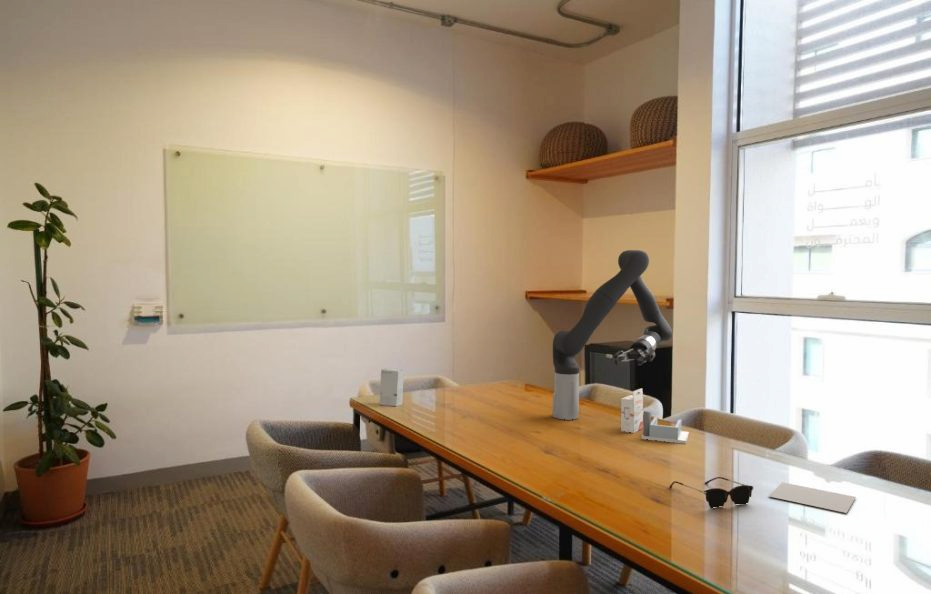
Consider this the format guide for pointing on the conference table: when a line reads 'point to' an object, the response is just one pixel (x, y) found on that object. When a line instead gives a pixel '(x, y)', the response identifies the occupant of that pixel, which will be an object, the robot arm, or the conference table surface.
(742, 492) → the sunglasses
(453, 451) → the conference table surface
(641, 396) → the ink cartridge box
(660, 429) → the keeper cradle
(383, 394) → the skincare box
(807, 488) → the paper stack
